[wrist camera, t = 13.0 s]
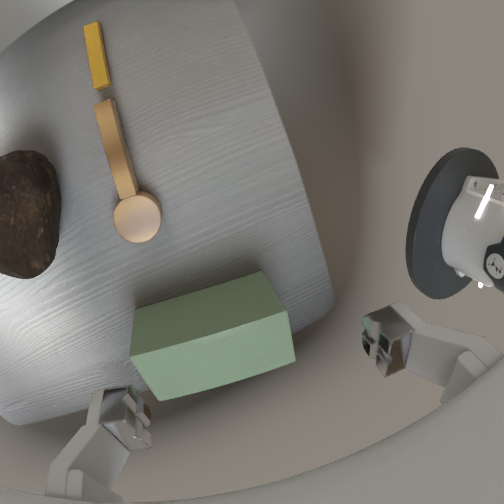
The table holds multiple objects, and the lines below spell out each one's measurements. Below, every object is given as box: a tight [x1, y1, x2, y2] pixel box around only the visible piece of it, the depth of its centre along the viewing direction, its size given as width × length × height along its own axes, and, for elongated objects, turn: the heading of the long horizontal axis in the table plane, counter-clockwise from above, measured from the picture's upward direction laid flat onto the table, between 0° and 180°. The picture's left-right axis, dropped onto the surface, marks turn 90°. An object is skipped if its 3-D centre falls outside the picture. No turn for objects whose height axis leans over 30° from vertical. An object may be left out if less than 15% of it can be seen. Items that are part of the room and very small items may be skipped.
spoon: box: [94, 99, 162, 243], centre depth 24 cm, size 14×5×2 cm, turn 12°
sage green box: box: [129, 271, 296, 401], centre depth 30 cm, size 15×7×8 cm, turn 102°
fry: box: [84, 21, 111, 90], centre depth 20 cm, size 1×7×1 cm, turn 12°
